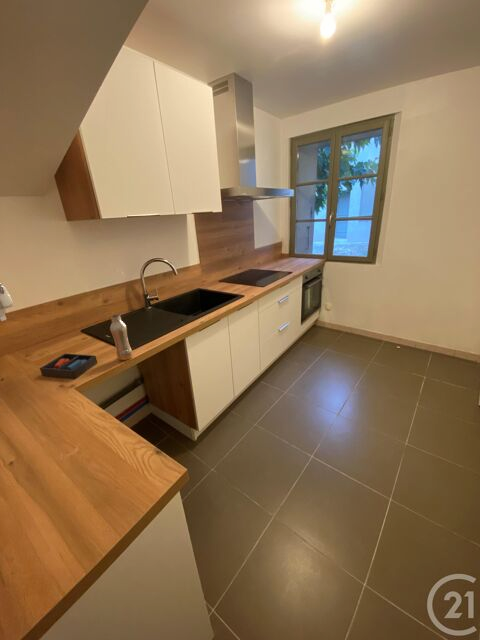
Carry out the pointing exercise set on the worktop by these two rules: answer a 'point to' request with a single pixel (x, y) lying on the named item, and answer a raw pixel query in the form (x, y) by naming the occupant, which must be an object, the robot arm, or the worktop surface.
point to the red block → (61, 363)
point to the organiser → (63, 370)
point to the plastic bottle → (120, 338)
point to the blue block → (76, 364)
